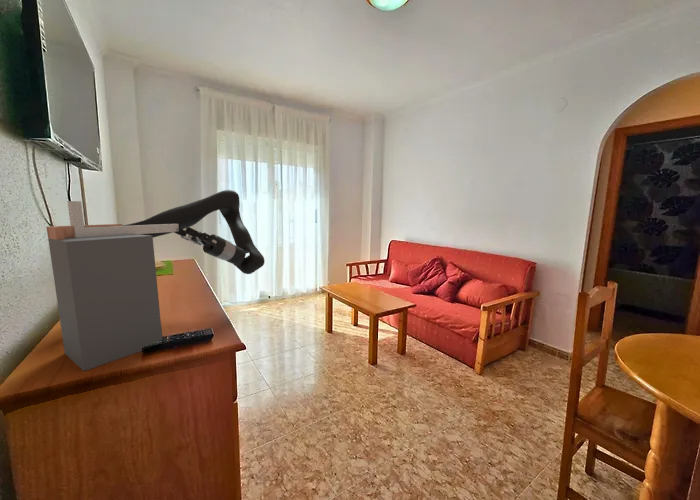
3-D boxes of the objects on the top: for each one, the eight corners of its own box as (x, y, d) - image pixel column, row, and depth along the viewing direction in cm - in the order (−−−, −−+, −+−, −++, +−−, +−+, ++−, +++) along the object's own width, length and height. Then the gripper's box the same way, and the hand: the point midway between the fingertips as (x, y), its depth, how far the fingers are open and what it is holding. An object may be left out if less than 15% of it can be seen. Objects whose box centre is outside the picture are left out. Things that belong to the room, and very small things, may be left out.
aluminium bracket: (72, 237, 79) (67, 201, 77) (174, 231, 100) (172, 202, 99) (75, 238, 77) (70, 201, 76) (178, 231, 98) (176, 202, 97)
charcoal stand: (64, 353, 81) (46, 226, 77) (139, 331, 96) (128, 223, 91) (83, 371, 73) (64, 228, 68) (162, 343, 87) (151, 225, 82)
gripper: (213, 238, 117) (174, 218, 105) (234, 240, 110) (195, 219, 97) (205, 255, 115) (164, 238, 103) (227, 258, 107) (185, 240, 95)
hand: (179, 229), depth 100 cm, fingers open, 8 cm apart
